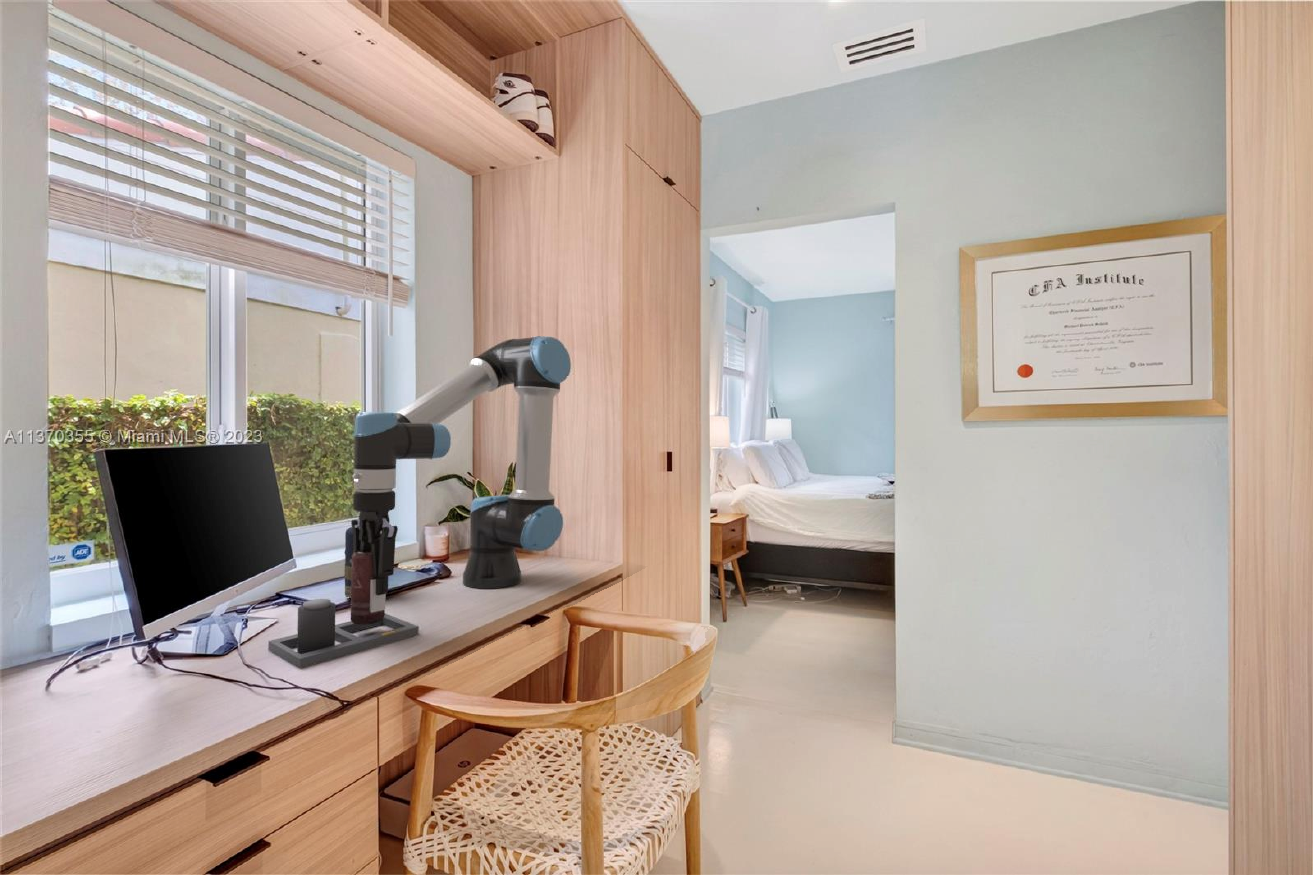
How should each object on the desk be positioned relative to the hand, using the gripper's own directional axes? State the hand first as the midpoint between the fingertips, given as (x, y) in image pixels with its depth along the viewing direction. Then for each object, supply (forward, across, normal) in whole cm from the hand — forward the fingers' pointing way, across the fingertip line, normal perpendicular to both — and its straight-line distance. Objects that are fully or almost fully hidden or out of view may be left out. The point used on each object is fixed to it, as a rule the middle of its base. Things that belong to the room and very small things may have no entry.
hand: (372, 608), depth 119 cm
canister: (+5, -26, +12) cm, 29 cm away
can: (+3, -1, 0) cm, 3 cm away
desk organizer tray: (+5, 0, -5) cm, 7 cm away
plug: (+5, 0, -10) cm, 12 cm away
